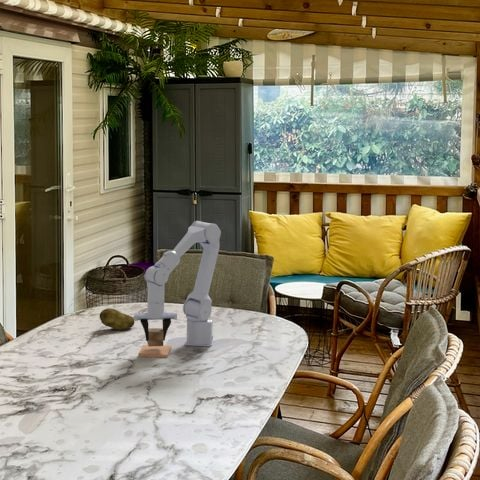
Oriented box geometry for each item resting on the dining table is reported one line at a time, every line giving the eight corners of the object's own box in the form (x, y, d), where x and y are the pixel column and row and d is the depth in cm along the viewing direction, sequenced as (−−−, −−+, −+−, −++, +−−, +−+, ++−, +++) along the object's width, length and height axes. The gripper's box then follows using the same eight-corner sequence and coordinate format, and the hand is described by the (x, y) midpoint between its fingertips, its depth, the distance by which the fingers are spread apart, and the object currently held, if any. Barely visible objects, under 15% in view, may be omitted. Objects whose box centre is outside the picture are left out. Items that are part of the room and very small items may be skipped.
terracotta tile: (171, 348, 262) (171, 346, 262) (167, 357, 252) (167, 354, 252) (143, 347, 263) (143, 344, 263) (138, 356, 253) (138, 353, 253)
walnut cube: (161, 341, 260) (161, 328, 259) (163, 346, 255) (163, 331, 255) (147, 342, 259) (147, 328, 258) (148, 346, 254) (148, 332, 253)
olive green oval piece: (132, 332, 281) (132, 311, 280) (97, 331, 281) (97, 310, 280) (135, 326, 289) (135, 306, 288) (102, 325, 289) (102, 305, 288)
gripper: (175, 298, 260) (174, 336, 262) (133, 299, 257) (133, 337, 259) (178, 303, 253) (177, 341, 256) (135, 304, 250) (134, 343, 252)
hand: (155, 340), depth 257 cm, fingers closed on walnut cube, 5 cm apart
